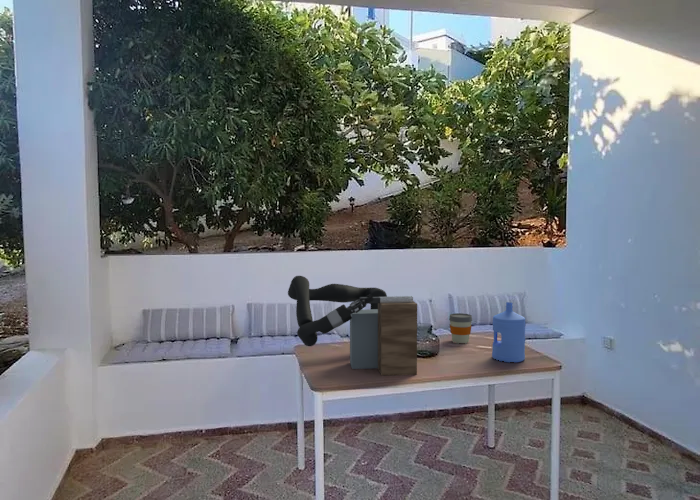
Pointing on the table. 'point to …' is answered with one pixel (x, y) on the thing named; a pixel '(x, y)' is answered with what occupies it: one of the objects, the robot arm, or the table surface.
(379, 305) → the upright wooden block
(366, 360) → the grey rectangular box
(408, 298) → the lever bar
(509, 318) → the water jug
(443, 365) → the table surface
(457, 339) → the reusable coffee cup
